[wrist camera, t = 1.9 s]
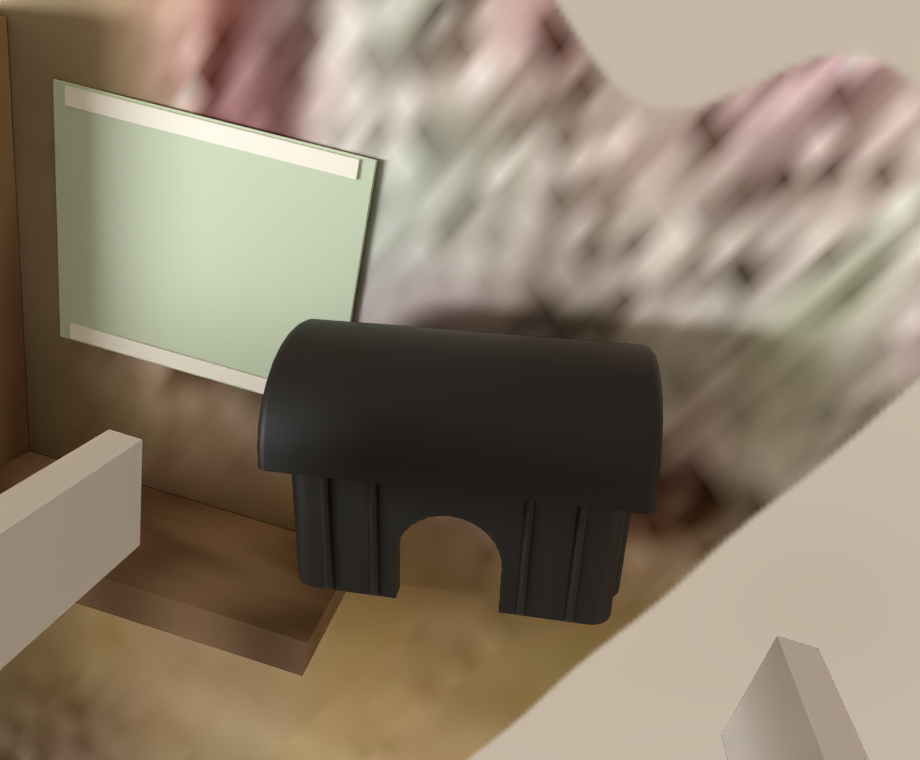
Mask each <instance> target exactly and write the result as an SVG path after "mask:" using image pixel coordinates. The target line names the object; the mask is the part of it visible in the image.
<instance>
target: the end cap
mask: <svg viewBox="0 0 920 760" xmlns="http://www.w3.org/2000/svg"><path fill="white" fill-rule="evenodd" d="M662 433H663V400H662V385H661V377H660V370H659V366H658V362H657V359H656V356H655V354H654V353H653V351H652V350H651V349H650V348H649V347H648V346H646V345H639V344H626V343H613V342H601V341H588V340H576V339H563V338H550V337H538V336H525V335H512V334H500V333H487V332H474V331H462V330H449V329H436V328H424V327H411V326H399V325H386V324H373V323H361V322H348V321H335V320H323V319H308V320H306V321H304V322H302V323H299V324H298V325H297V326H296V327H295V328H294V329H293V330H292V331H291V332H290V333H289V334H288V335H287V337H286V338H285V340H284V341H283V342H282V344H281V345H280V348H279V350H278V352H277V354H276V356H275V358H274V360H273V363H272V366H271V369H270V372H269V375H268V378H267V381H266V385H265V389H264V394H263V398H262V402H261V410H260V417H259V424H258V442H257V450H258V468H259V469H261V470H263V471H271V472H280V473H288V474H292V485H293V500H294V514H295V528H296V542H297V556H298V570H299V579H300V580H301V581H302V583H304V584H306V585H308V586H312V587H318V588H325V589H333V590H340V591H347V592H354V593H362V594H369V595H376V596H384V597H391V598H396V596H397V593H398V591H399V588H400V538H401V536H402V534H403V533H404V531H405V530H407V529H408V528H409V527H410V526H411V525H412V524H414V523H416V522H418V521H419V520H422V519H425V518H428V517H434V516H452V517H457V518H461V519H464V520H466V521H469V522H471V523H473V524H475V525H476V526H478V527H480V528H481V529H482V530H483V531H485V532H486V533H487V534H488V535H489V536H490V537H491V539H492V540H493V541H494V542H495V544H496V546H497V548H498V550H499V553H500V556H501V560H502V575H501V588H500V602H499V612H501V613H508V614H515V615H523V616H530V617H537V618H545V619H552V620H559V621H567V622H574V623H581V624H591V625H596V624H600V623H603V622H605V621H606V620H608V618H609V617H610V613H611V607H612V600H613V596H615V595H616V594H617V593H618V591H619V585H620V579H621V573H622V567H623V560H624V554H625V548H626V541H627V535H628V529H629V523H630V516H631V512H634V513H643V514H649V513H652V512H654V511H655V507H656V500H657V493H658V486H659V477H660V467H661V453H662Z"/></svg>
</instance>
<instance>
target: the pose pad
mask: <svg viewBox="0 0 920 760" xmlns="http://www.w3.org/2000/svg"><path fill="white" fill-rule="evenodd" d="M53 101H54V136H55V172H56V207H57V242H58V278H59V313H60V336H61V337H64V338H68V339H71V340H75V341H78V342H82V343H85V344H89V345H92V346H96V347H99V348H103V349H106V350H109V351H113V352H116V353H120V354H123V355H127V356H130V357H134V358H137V359H141V360H144V361H148V362H151V363H155V364H158V365H162V366H165V367H169V368H172V369H176V370H179V371H183V372H186V373H190V374H193V375H197V376H200V377H204V378H207V379H211V380H214V381H218V382H221V383H225V384H228V385H231V386H235V387H238V388H242V389H245V390H249V391H252V392H256V393H259V394H264V389H265V385H266V381H267V378H268V375H269V372H270V369H271V366H272V363H273V360H274V358H275V356H276V354H277V352H278V350H279V348H280V345H281V344H282V342H283V341H284V340H285V338H286V337H287V335H288V334H289V333H290V332H291V331H292V330H293V329H294V328H295V327H296V326H297V325H298V324H299V323H302V322H304V321H306V320H308V319H323V320H335V321H348V322H352V315H353V309H354V303H355V297H356V291H357V285H358V278H359V272H360V266H361V260H362V254H363V248H364V242H365V235H366V229H367V223H368V217H369V211H370V205H371V199H372V192H373V186H374V180H375V174H376V168H377V162H378V160H375V159H371V158H367V157H363V156H359V155H355V154H352V153H348V152H344V151H340V150H336V149H332V148H328V147H324V146H320V145H316V144H312V143H308V142H304V141H300V140H296V139H292V138H288V137H284V136H280V135H276V134H272V133H268V132H264V131H260V130H256V129H252V128H248V127H244V126H240V125H236V124H232V123H228V122H224V121H220V120H216V119H212V118H208V117H204V116H200V115H196V114H192V113H189V112H185V111H181V110H177V109H173V108H169V107H165V106H161V105H157V104H153V103H149V102H145V101H141V100H137V99H133V98H129V97H125V96H121V95H117V94H113V93H109V92H105V91H101V90H97V89H93V88H89V87H85V86H81V85H77V84H73V83H69V82H65V81H61V80H57V79H53Z"/></svg>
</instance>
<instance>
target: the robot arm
mask: <svg viewBox="0 0 920 760" xmlns="http://www.w3.org/2000/svg"><path fill="white" fill-rule="evenodd" d="M141 477H142V439H139V438H136V437H132V436H129V435H126V434H123V433H119V432H116V431H113V430H110V429H109V430H107V431H105V432H104V433H102V434H100V435H99V436H97V437H95V438H94V439H92V440H90V441H89V442H87V443H85V444H84V445H82V446H80V447H79V448H77V449H75V450H74V451H72V452H70V453H68V454H67V455H65V456H63V457H62V458H60V459H58V460H57V461H55V462H53V463H52V464H50V465H48V466H47V467H45V468H43V469H42V470H40V471H38V472H37V473H35V474H33V475H32V476H30V477H28V478H27V479H25V480H23V481H22V482H20V483H18V484H17V485H15V486H13V487H12V488H10V489H8V490H6V491H5V492H3V493H1V494H0V670H1V669H2V668H3V667H4V666H5V665H6V664H8V663H9V662H10V661H11V660H12V659H13V658H14V657H15V656H16V655H18V654H19V653H20V652H21V651H22V650H23V649H24V648H25V647H27V646H28V645H29V644H30V643H31V642H32V641H33V640H34V639H35V638H37V637H38V636H39V635H40V634H41V633H42V632H43V631H44V630H46V629H47V628H48V627H49V626H50V625H51V624H52V623H53V622H54V621H56V620H57V619H58V618H59V617H60V616H61V615H62V614H63V613H64V612H66V611H67V610H68V609H69V608H70V607H71V606H72V605H73V604H75V603H76V602H77V601H78V600H79V599H80V598H81V597H82V596H83V595H85V594H86V593H87V592H88V591H89V590H90V589H91V588H92V587H94V586H95V585H96V584H97V583H98V582H99V581H100V580H101V579H102V578H104V577H105V576H106V575H107V574H108V573H109V572H110V571H111V570H112V569H114V568H115V567H116V566H117V565H118V564H119V563H120V562H121V561H123V560H124V559H125V558H126V557H127V556H128V555H129V554H130V553H131V552H133V551H134V550H135V549H136V548H137V547H138V546H139V545H140V518H141ZM722 739H723V744H724V748H725V752H726V757H727V760H869V759H868V756H867V755H866V752H865V750H864V748H863V746H862V743H861V741H860V739H859V737H858V735H857V732H856V730H855V728H854V726H853V724H852V722H851V719H850V717H849V715H848V713H847V711H846V708H845V706H844V704H843V702H842V699H841V697H840V695H839V693H838V691H837V688H836V687H835V684H834V682H833V680H832V677H831V675H830V673H829V671H828V669H827V667H826V664H825V662H824V660H823V658H822V656H821V653H820V651H819V649H818V648H814V647H811V646H808V645H805V644H802V643H798V642H795V641H792V640H789V639H785V638H782V637H779V636H777V637H776V639H775V641H774V643H773V644H772V646H771V648H770V650H769V652H768V653H767V655H766V657H765V659H764V661H763V662H762V664H761V666H760V668H759V669H758V671H757V673H756V675H755V676H754V679H753V680H752V682H751V684H750V686H749V687H748V689H747V691H746V693H745V694H744V696H743V698H742V700H741V702H740V703H739V705H738V707H737V709H736V710H735V712H734V714H733V716H732V718H731V719H730V721H729V723H728V725H727V726H726V728H725V730H724V732H723V734H722Z"/></svg>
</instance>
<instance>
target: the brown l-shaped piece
mask: <svg viewBox="0 0 920 760" xmlns="http://www.w3.org/2000/svg"><path fill="white" fill-rule="evenodd" d="M55 461H57V459H54V458H51V457H47V456H44V455H41V454H37V453H34V452H31V451H29V434H28V415H27V396H26V377H25V358H24V339H23V320H22V301H21V282H20V263H19V244H18V225H17V206H16V187H15V168H14V149H13V131H12V112H11V93H10V74H9V55H8V36H7V17H6V16H3V15H0V494H1V493H3V492H5V491H6V490H8V489H10V488H12V487H13V486H15V485H17V484H18V483H20V482H22V481H23V480H25V479H27V478H28V477H30V476H32V475H33V474H35V473H37V472H38V471H40V470H42V469H43V468H45V467H47V466H48V465H50V464H52V463H53V462H55ZM345 592H346V591H340V590H333V589H325V588H318V587H312V586H308V585H306V584H304V583H302V581H301V580H300V579H299V570H298V556H297V542H296V532H294V531H291V530H287V529H284V528H281V527H277V526H274V525H271V524H268V523H264V522H261V521H258V520H254V519H251V518H248V517H245V516H241V515H238V514H235V513H231V512H228V511H225V510H222V509H218V508H215V507H212V506H208V505H205V504H202V503H199V502H195V501H192V500H189V499H185V498H182V497H179V496H176V495H172V494H169V493H166V492H162V491H159V490H156V489H152V488H149V487H146V486H143V485H141V518H140V545H139V546H138V547H137V548H136V549H135V550H134V551H133V552H131V553H130V554H129V555H128V556H127V557H126V558H125V559H124V560H123V561H121V562H120V563H119V564H118V565H117V566H116V567H115V568H114V569H112V570H111V571H110V572H109V573H108V574H107V575H106V576H105V577H104V578H102V579H101V580H100V581H99V582H98V583H97V584H96V585H95V586H94V587H92V588H91V589H90V590H89V591H88V592H87V593H86V594H85V595H83V596H82V597H81V598H80V599H79V600H78V601H77V602H76V603H78V604H82V605H85V606H88V607H91V608H94V609H97V610H100V611H103V612H106V613H109V614H112V615H116V616H119V617H122V618H125V619H128V620H131V621H134V622H137V623H140V624H143V625H147V626H150V627H153V628H156V629H159V630H162V631H165V632H168V633H171V634H174V635H177V636H181V637H184V638H187V639H190V640H193V641H196V642H199V643H202V644H205V645H208V646H212V647H215V648H218V649H221V650H224V651H227V652H230V653H233V654H236V655H239V656H242V657H246V658H249V659H252V660H255V661H258V662H261V663H264V664H267V665H270V666H273V667H277V668H280V669H283V670H286V671H289V672H292V673H295V674H298V675H301V676H302V675H303V673H304V671H305V669H306V668H307V666H308V664H309V662H310V660H311V658H312V656H313V654H314V652H315V650H316V648H317V646H318V644H319V642H320V640H321V638H322V636H323V635H324V633H325V631H326V629H327V627H328V625H329V623H330V621H331V619H332V617H333V615H334V613H335V611H336V609H337V607H338V605H339V604H340V602H341V600H342V598H343V596H344V594H345Z"/></svg>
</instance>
